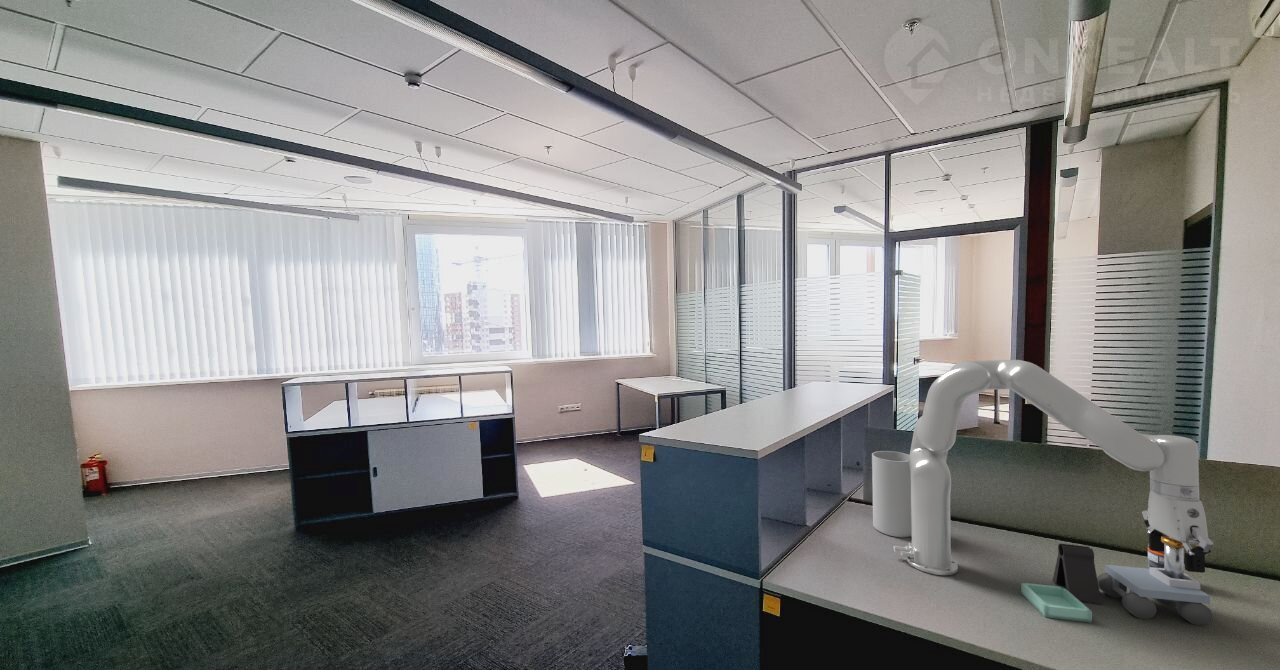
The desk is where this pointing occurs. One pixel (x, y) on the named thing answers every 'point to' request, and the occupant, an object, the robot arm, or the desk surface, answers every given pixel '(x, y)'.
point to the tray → (1056, 602)
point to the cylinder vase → (891, 493)
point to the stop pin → (1173, 557)
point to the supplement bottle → (1155, 559)
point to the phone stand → (1077, 573)
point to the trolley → (1155, 592)
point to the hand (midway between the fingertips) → (1175, 560)
